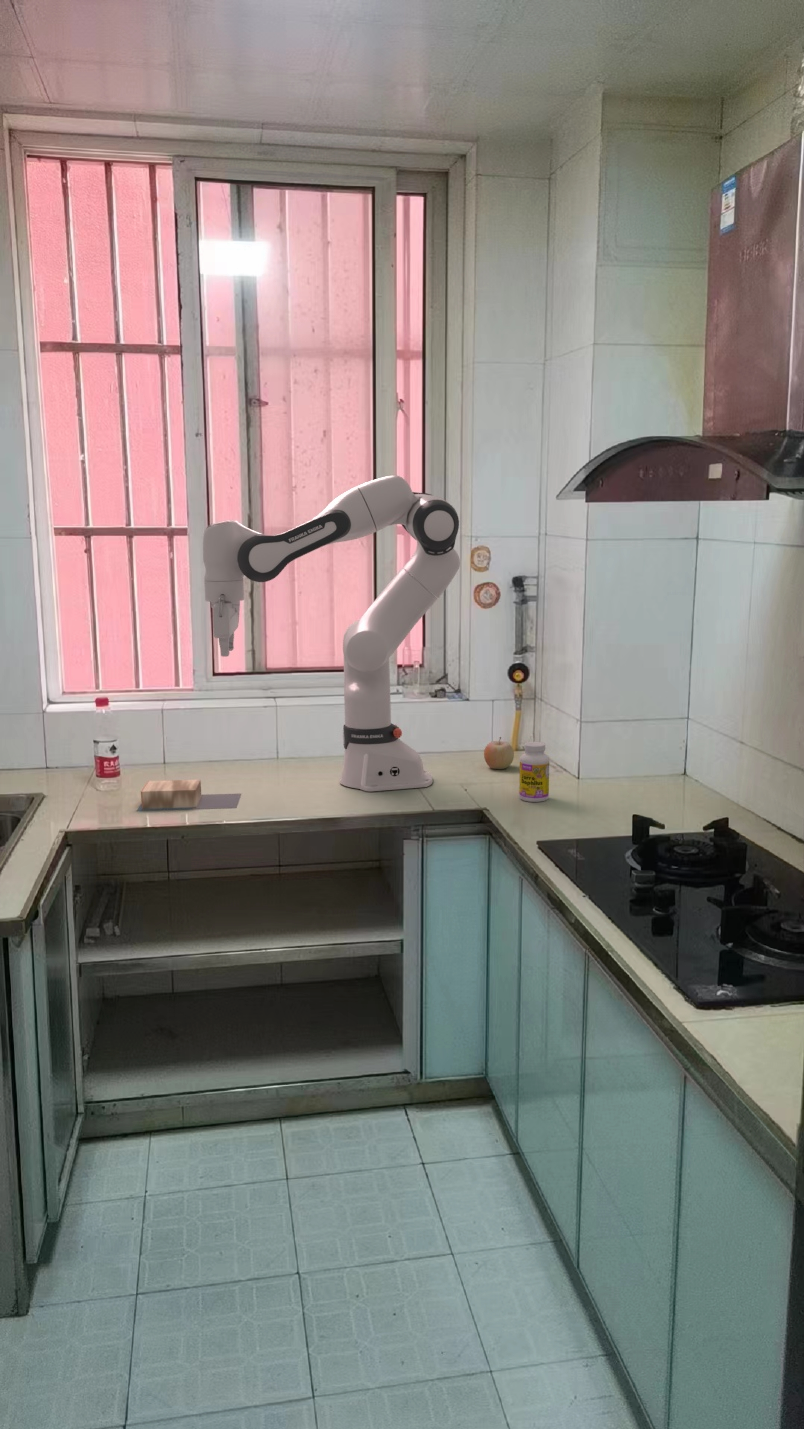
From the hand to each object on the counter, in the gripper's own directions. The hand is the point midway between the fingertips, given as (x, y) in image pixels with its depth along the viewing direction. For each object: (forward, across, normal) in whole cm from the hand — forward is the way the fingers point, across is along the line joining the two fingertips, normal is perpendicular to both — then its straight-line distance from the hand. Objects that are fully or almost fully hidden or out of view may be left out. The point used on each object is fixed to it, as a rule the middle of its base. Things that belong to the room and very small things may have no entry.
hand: (227, 653), depth 245 cm
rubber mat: (+33, -9, +8) cm, 35 cm away
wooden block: (+31, -9, +7) cm, 33 cm away
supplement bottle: (+33, -13, -69) cm, 78 cm away
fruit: (+33, +16, -65) cm, 75 cm away
